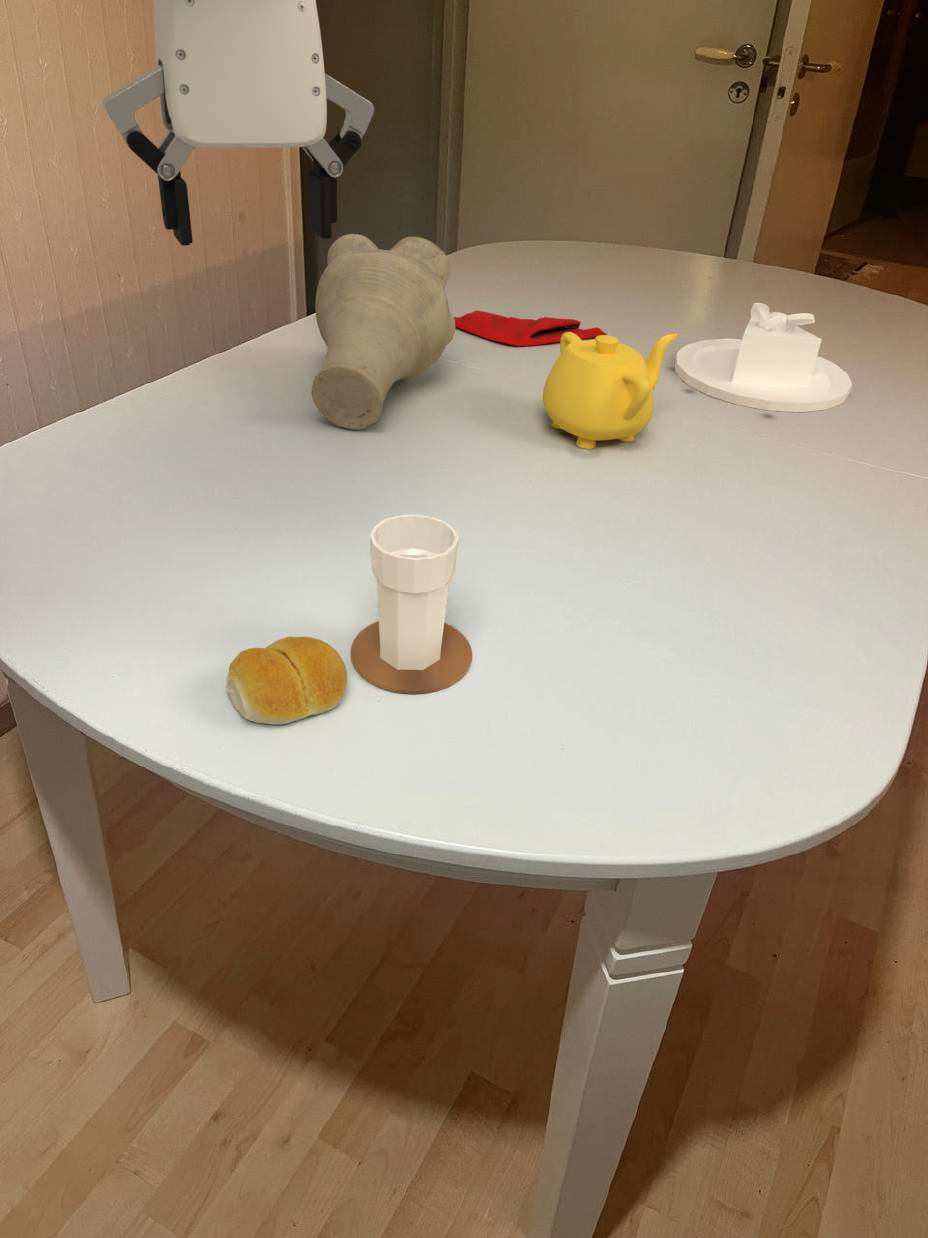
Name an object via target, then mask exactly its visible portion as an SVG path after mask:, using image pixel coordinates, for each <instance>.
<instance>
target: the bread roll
mask: <svg viewBox="0 0 928 1238" xmlns="http://www.w3.org/2000/svg"><path fill="white" fill-rule="evenodd" d="M347 684H348V674H347V668H346V664H345V662H344V660H343V658H342V656H341V655H340V654H339V652H338V651H337V649H335V648H334V647H333V646H331V644H329V643H328V642H326V641H324V640H322V639H319V638H316V637H311V636H285V637H283V638H280V639H278V640H275V641H274V642H272V643H271V644H269V645H268V646H265V647H250V648H247V649H245V650H242V651H240V652H239V653H238V654H237V655H236V656H235V658H234V659H232V661H231V662H230V664H229V667H228V673H227V677H226V686H225V690H226V692H227V694H228V696H229V699H230V701H231V703H232V705H233V707H234V708H235V709H236V711H237V712H238V713H239V715H240V716H242V718H244V719H245V720H247V721H250V722H254V723H258V724H268V725H285V724H290V723H293V722H297V721H299V720H302V719H306V718H307V717H309V716H315V715H320V714H323V713H326V712H327V711H330V710H331V709H333V708H335V707H337V706H338V704H339V703H340V702H341V700H342V698H343V696H344V694H345V691H346V687H347Z"/></svg>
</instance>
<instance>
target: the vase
mask: <svg viewBox="0 0 928 1238" xmlns="http://www.w3.org/2000/svg"><path fill="white" fill-rule="evenodd" d="M326 258H327V259H326V261H327V265H326V268H325V269H324V270H323V272H322V274H321V276H320V279H319V280H318V284H317V288H316V294H315V304H314V305H315V306H314V308H315V319H316V324H317V327H318V331H319V334H320V336H321V338H322V340H323V342H324V344H325V346H326V347H327V348H326V350H327V351H326V355H325V360H324V364H323V366H322V367H321V369H320V370H319V371H318V373H317V374H316V376H315V377H314V379H313V382H312V387H311V398H312V400H313V403H314V405H315V407H316V409H317V411H318V412H319V413H320V414H321V415H322V416H323V417H324V418H325V419H327V420H328V422H330V423H331V424H333V425H335V426H337V427H340V428H344V429H348V430H352V431H354V430H362V429H363V430H364V429H366V428H368V427H369V426H371V425H374V424H376V422H377V421H379V420H380V418H381V416H382V413H383V408H384V407H383V406H384V402H385V400H386V397H387V395H388V393H389V391H390V390H391V388H392V386H393V385H394V384H395V382H397V381H400V380H406V379H409V378H413V377H415V376H417V375H419V374H421V373H423V372H425V371H426V370H428V369H430V367H432V366H433V365H434V364H435V363H436V362H437V361H438V360H439V359H440V358H441V356H442V355H443V353H444V352H445V349H446V348H447V346H448V345H449V344H450V343H451V342H452V341H453V338H454V337H455V333H456V327H455V321H454V318H453V317H454V316H453V314H452V313H451V311H450V305H449V300H448V296H447V294H446V293H447V292H446V291H445V288H446V287H447V283H448V281H449V278H450V275H451V271H452V266H451V262H450V260H449V258H448V256H447V255H446V253H445V252H444V251H443V250H442V249H441V248H440V247H439V246H438V245H437V244H435V243H434V242H433V241H430V240H429V239H426V238H424V237H421V236H405V237H404V238H402V239H400V240H399V241H398V242H397V243H396V244H395V245H394V246H393V247H392V248H390V249H380V248H379V247H378V246H377V245H376V244H374V242H373V241H372V240H371V239H369V238H368V237H367V236H365V235H362V234H358V233H348V234H344V235H342V236H340V237H338V238H337V239H336V240H335V241H333V243H332V244H331V246H330V247H329V249H328V252H327V257H326Z"/></svg>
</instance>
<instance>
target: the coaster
mask: <svg viewBox="0 0 928 1238" xmlns="http://www.w3.org/2000/svg"><path fill="white" fill-rule="evenodd" d="M350 660H351V664H352V667H353V668H354V670H355V671H356V673H357V674H358V675H359V676H360V677H361V678H362V679H363V680H365V681H366V682H368V683H369V684H371V685H373V686H374V687H377V688H379V689H382V690H384V691H388V692H392V693H397V694H403V695H404V694H405V695H422V694H423V695H425V694H430V693H435V692H438V691H442V690H444V689H447V688H450V687H451V686H453V685H455V684H457V683H458V682H459V681H460V680H462V679H463V678H464V677H465V676H466V675H467V673H468V672H469V670H470V667H471V665H472V661H473V651H472V647H471V644H470V642H469V640H468V639H467V637H466V636H465V635H464V633H462V632H461V631H460V630H458V629H457V628H456V627H454V626H452V625H450V624H448V623H446V622H444V628H443V636H442V644H441V653H440V660H438V661H437V662H435V663H434V664H432V665H430V666H429V667H427V668H425V669H424V670H397V669H396V668H394V667H393V666H391V665H390V664H388V663H387V662H385V661H384V660H382V659H381V658H380V633H379V620H378V621H376V622H373V623H371V624H369V625H368V626H365V627H364V628H363V629H362V630H361V631H359V633H357V635H356V636H355V638H354V639H353V641H352V643H351V647H350Z"/></svg>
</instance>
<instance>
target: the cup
mask: <svg viewBox="0 0 928 1238" xmlns="http://www.w3.org/2000/svg"><path fill="white" fill-rule="evenodd" d="M459 540H460V537H459V535H458V533H457V531H456V529H455V528H454V527H453V526H451V525H450V524H449V523H448V522H447V521H445V520H442V519H440V518H436V517H433V516H429V515H423V514H417V513H416V514H415V513H413V514H411V513H410V514H401V515H400V514H399V515H395V516H392V517H388V518H383V520H381V521H380V522H378V523H377V524H376V525H374V526H373V528H372V530H371V532H370V534H369V547H370V564H371V565H370V566H371V567H370V568H371V570H372V574H373V576H374V578H375V580H376V591H377V592H376V593H377V594H376V595H377V611H378V621H379V633H380V658H381V659H382V660H384V661H385V662H387V663H388V664H390V665H391V666H393V667H394V668H396V669H397V670H424V669H425V668H427V667H429V666H430V665H432V664H434V663H435V662H437V661H438V660H440V653H441V644H442V636H443V628H444V623H445V621H446V620H445V619H446V612H447V603H448V597H449V590H450V583H451V581H452V579H453V576H454V574H455V571H456V566H457V564H456V563H457V558H458V557H457V556H458V549H459Z"/></svg>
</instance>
